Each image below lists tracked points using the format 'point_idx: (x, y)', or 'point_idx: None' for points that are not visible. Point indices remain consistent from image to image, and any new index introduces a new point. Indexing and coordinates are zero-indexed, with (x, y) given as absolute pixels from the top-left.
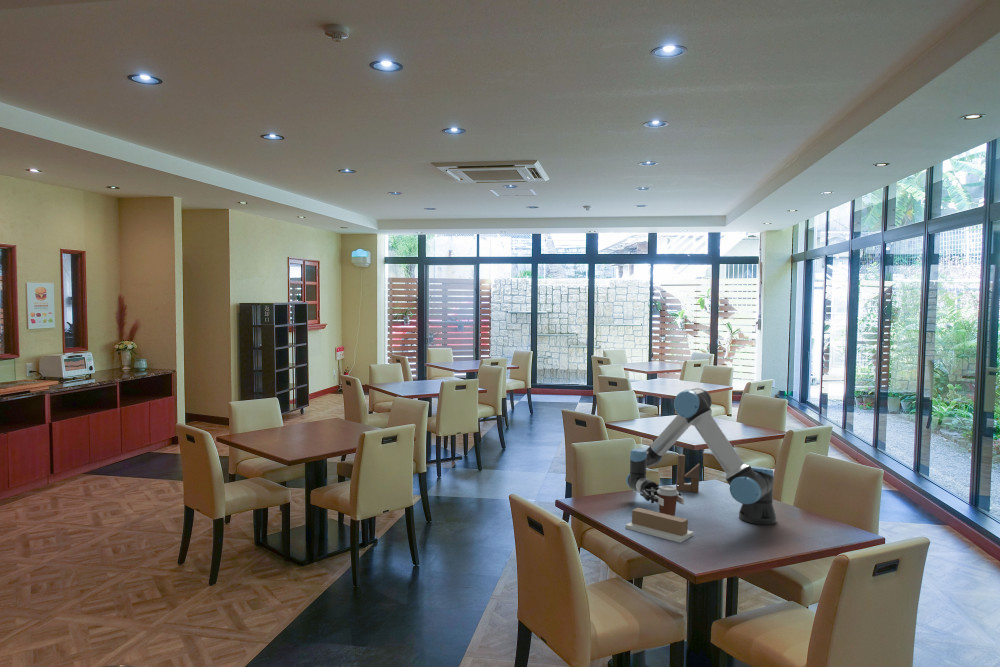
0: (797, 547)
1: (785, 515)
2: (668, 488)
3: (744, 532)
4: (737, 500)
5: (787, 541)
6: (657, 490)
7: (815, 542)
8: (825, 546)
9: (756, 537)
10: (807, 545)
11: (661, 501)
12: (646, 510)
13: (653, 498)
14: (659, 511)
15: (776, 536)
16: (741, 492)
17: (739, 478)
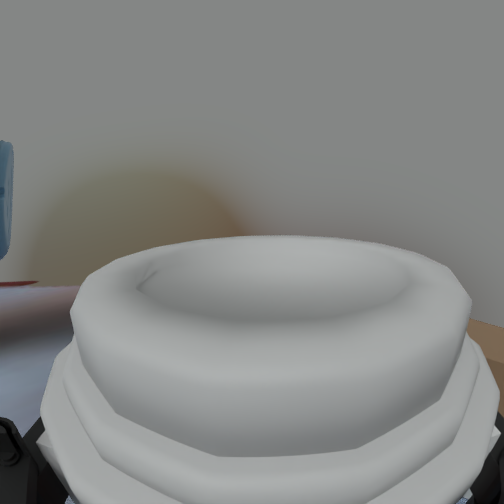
0: (65, 293)
1: None
2: (270, 273)
3: (46, 348)
4: (6, 248)
5: (41, 305)
6: (492, 381)
7: (11, 296)
8: (23, 289)
9: (65, 326)
10: (39, 294)
11: None
12: (499, 352)
13: (495, 421)
14: None
15: (21, 319)
16: (8, 206)
17: (11, 145)
